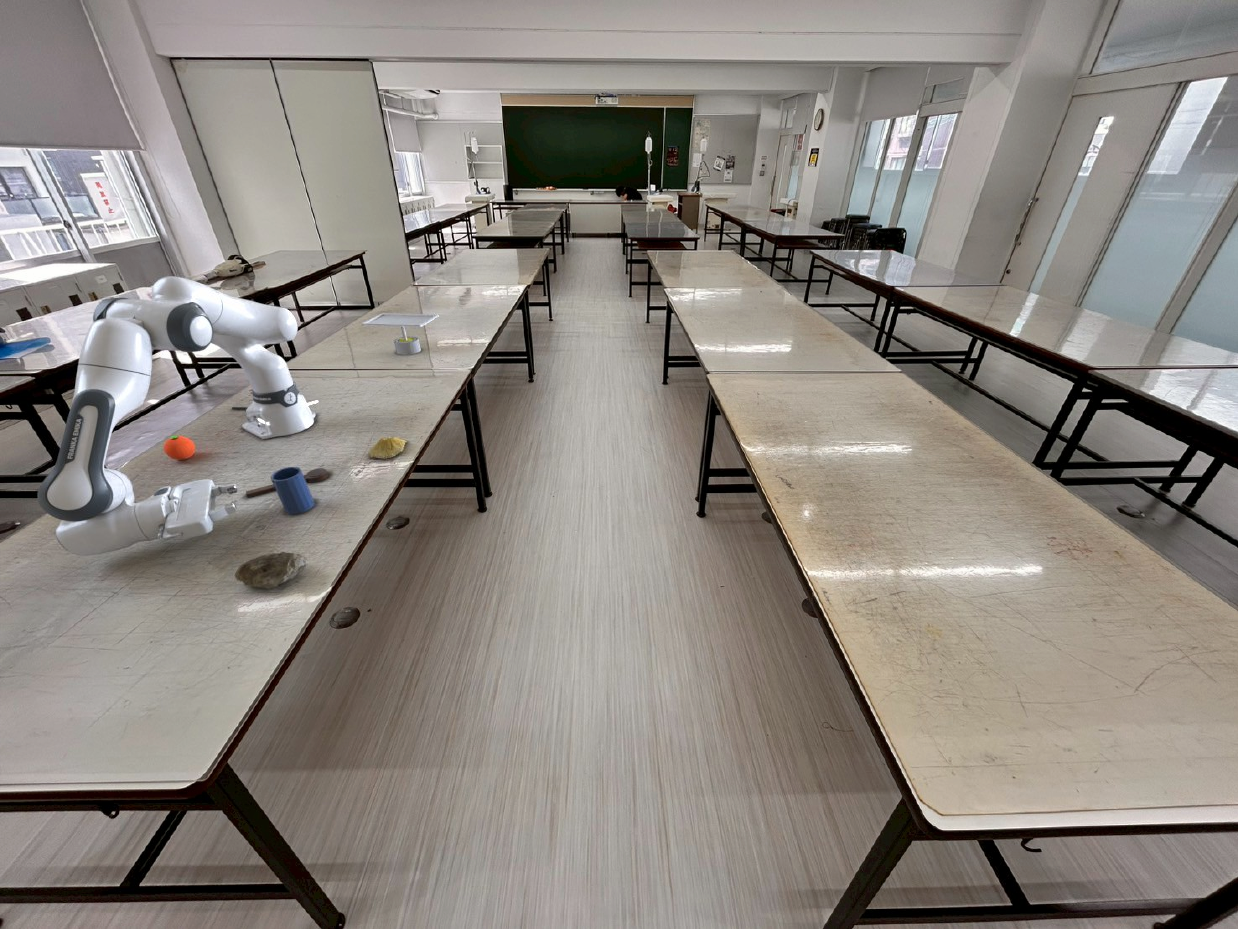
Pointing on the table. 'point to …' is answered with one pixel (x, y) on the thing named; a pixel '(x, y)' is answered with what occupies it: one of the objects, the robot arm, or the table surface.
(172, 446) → the clementine
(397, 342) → the solar panel model
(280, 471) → the cup
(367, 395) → the table surface
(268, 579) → the stone
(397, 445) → the fossil
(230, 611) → the table surface
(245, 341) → the robot arm
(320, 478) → the spoon
